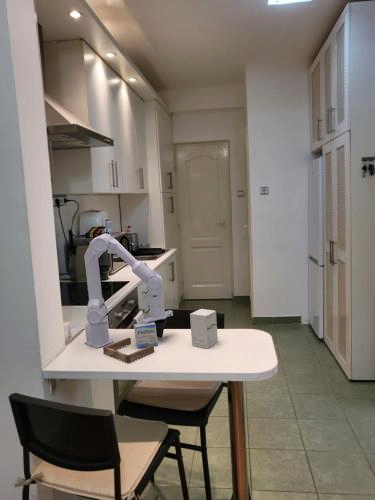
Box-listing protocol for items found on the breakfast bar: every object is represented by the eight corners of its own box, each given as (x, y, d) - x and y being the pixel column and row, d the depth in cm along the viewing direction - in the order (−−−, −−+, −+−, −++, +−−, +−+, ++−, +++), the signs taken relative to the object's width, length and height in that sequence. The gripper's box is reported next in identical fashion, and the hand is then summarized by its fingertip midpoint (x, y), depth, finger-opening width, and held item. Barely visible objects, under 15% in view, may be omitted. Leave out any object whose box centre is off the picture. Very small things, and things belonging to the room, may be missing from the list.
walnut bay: (103, 353, 154) (103, 347, 154) (129, 343, 162) (128, 337, 162) (128, 363, 143) (127, 356, 143) (154, 352, 152) (153, 345, 151)
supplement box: (207, 349, 151) (205, 316, 149) (191, 345, 155) (189, 313, 154) (218, 342, 157) (216, 310, 155) (202, 339, 161) (200, 308, 159)
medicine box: (137, 349, 156) (135, 327, 155) (135, 345, 160) (133, 323, 159) (157, 345, 158) (155, 324, 156) (155, 341, 162) (153, 320, 161)
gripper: (149, 311, 154) (152, 345, 156) (177, 301, 164) (179, 334, 166) (137, 308, 159) (140, 341, 161) (165, 299, 169) (167, 330, 171)
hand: (159, 337), depth 164 cm, fingers closed
